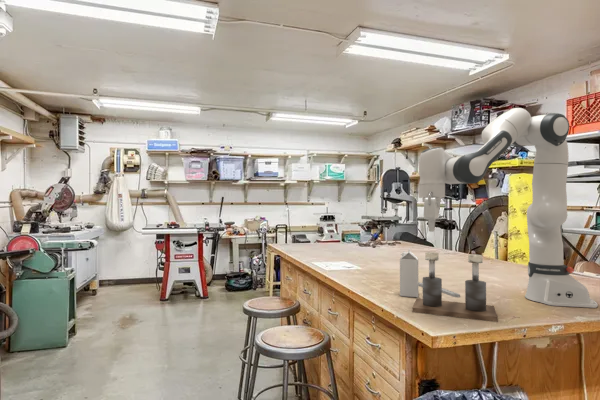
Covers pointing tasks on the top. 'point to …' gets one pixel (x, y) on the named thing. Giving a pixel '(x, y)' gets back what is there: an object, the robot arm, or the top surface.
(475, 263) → the plunger
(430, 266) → the plunger
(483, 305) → the press block
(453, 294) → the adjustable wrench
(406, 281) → the milk carton
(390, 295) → the top surface
